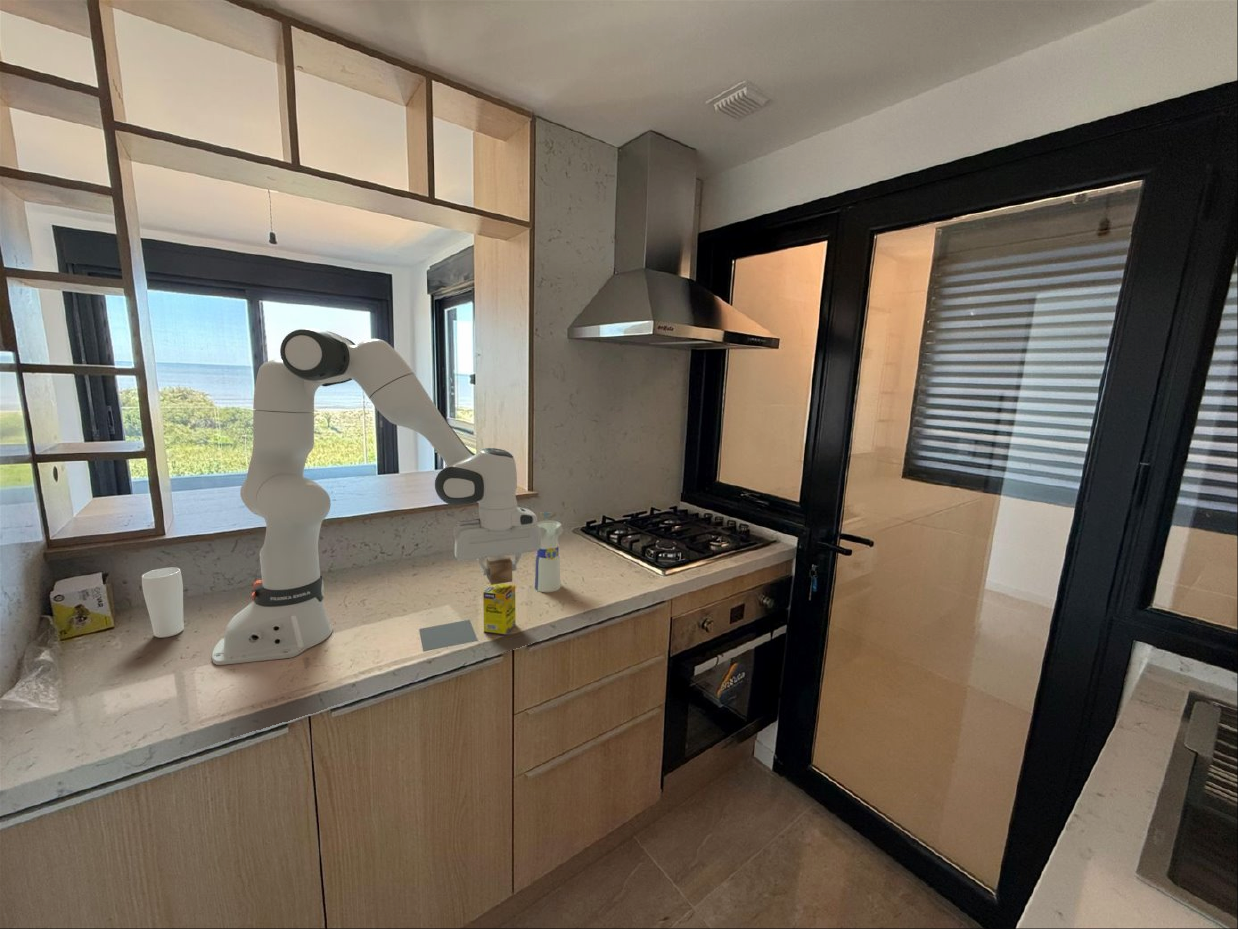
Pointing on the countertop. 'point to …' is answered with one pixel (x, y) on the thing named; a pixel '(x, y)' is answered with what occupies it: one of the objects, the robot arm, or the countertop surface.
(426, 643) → the mat
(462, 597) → the countertop surface
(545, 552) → the white and blue cylinder
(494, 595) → the supplement box
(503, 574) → the walnut cube
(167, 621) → the drinking glass
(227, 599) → the countertop surface
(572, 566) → the countertop surface
